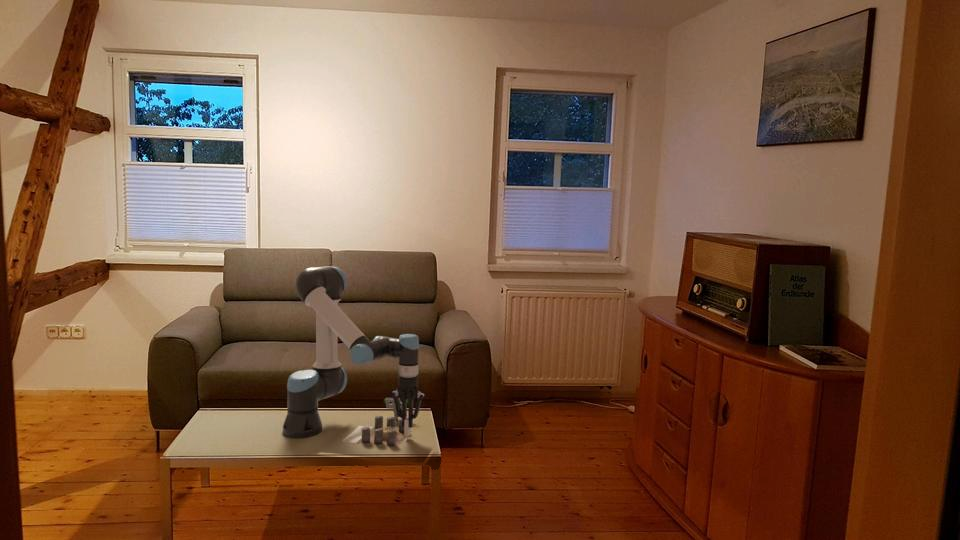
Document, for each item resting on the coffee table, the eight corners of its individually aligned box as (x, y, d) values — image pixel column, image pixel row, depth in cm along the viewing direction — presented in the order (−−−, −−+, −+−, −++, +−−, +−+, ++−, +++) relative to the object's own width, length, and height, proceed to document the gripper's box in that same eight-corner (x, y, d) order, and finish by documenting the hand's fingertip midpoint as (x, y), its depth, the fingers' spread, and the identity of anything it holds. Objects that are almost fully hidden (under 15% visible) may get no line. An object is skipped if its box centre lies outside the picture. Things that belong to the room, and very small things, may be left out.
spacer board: (341, 443, 230) (341, 428, 229) (359, 427, 247) (359, 413, 247) (397, 449, 226) (397, 434, 225) (411, 433, 243) (411, 418, 243)
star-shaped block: (375, 439, 233) (375, 431, 233) (381, 432, 239) (382, 425, 239) (392, 440, 232) (392, 433, 231) (398, 434, 238) (398, 427, 238)
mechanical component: (407, 423, 254) (408, 400, 253) (383, 422, 254) (383, 399, 253) (408, 421, 257) (409, 398, 256) (384, 420, 257) (384, 397, 256)
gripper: (388, 376, 229) (387, 437, 231) (422, 378, 227) (420, 440, 229) (395, 371, 237) (394, 430, 239) (427, 373, 234) (426, 433, 236)
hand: (407, 435), depth 234 cm, fingers closed
